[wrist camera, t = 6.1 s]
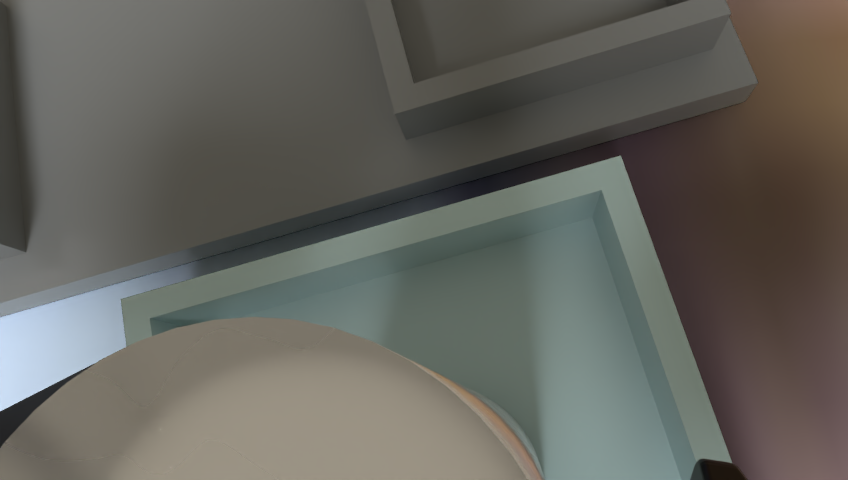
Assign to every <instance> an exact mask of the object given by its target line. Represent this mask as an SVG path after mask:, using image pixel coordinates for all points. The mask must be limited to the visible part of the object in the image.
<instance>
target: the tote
mask: <svg viewBox="0 0 848 480" xmlns="http://www.w3.org/2000/svg"><path fill="white" fill-rule="evenodd" d="M121 305H122V314H123V322H124V330H125V338H126V346H129V345H131V344H133V343H135V342H137V341H140V340H143V339H146V338H148V337H151V336H154V335H157V334H160V333H163V332H165V331H168V330H171V329H174V328H178V327H182V326H187V325H192V324H197V323H201V322H206V321H211V320H218V319H231V318H244V317H265V318H281V319H294V320H299V321H304V322H309V323H314V324H319V325H324V326H329V327H333V328H336V329H339V330H342V331H345V332H348V333H351V334H353V335H356V336H359V337H362V338H365V339H368V340H370V341H373V342H375V343H377V344H379V345H381V346H383V347H385V348H387V349H389V350H391V351H393V352H395V353H397V354H399V355H402V356H404V357H406V358H408V359H410V360H412V361H414V362H416V363H418V364H420V365H422V366H424V367H426V368H428V369H430V370H432V371H434V372H436V373H438V374H440V375H442V376H445V377H447V378H449V379H451V380H453V381H455V382H457V383H459V384H461V385H463V386H465V387H467V388H469V389H471V390H473V391H475V392H477V393H479V394H481V395H483V396H485V397H487V398H489V399H491V400H492V401H494V402H495V403H497V404H498V405H500V406H501V407H502V408H504V409H505V410H506V411H507V412H508V413H509V414H510V415H511V416H512V417H513V418H514V419H515V420H516V421H517V422H518V424H519V425H520V426H521V427H522V429H523V430H524V432H525V433H526V435H527V436H528V438H529V439H530V441H531V443H532V445H533V447H534V449H535V451H536V454H537V457H538V460H539V463H540V466H541V469H542V472H543V476H544V479H545V480H690V478H691V475H692V472H693V469H694V466H695V464H696V462H697V461H698V460H699V459H703V458H705V459H711V460H717V461H724V462H729V463H732V461H731V458H730V455H729V453H728V450H727V447H726V444H725V441H724V439H723V436H722V433H721V430H720V428H719V425H718V422H717V419H716V417H715V414H714V411H713V408H712V406H711V403H710V400H709V397H708V395H707V392H706V389H705V386H704V384H703V381H702V378H701V375H700V373H699V370H698V367H697V364H696V362H695V359H694V356H693V353H692V351H691V348H690V345H689V342H688V339H687V337H686V334H685V331H684V328H683V326H682V323H681V320H680V317H679V315H678V312H677V309H676V306H675V304H674V301H673V298H672V295H671V293H670V290H669V287H668V284H667V282H666V279H665V276H664V273H663V271H662V268H661V265H660V262H659V260H658V257H657V254H656V251H655V249H654V246H653V243H652V240H651V238H650V235H649V232H648V229H647V226H646V224H645V221H644V218H643V215H642V213H641V210H640V207H639V204H638V202H637V199H636V196H635V193H634V191H633V188H632V185H631V182H630V180H629V177H628V174H627V171H626V169H625V166H624V163H623V160H622V158H621V156H617V157H614V158H610V159H607V160H603V161H600V162H596V163H593V164H590V165H586V166H583V167H579V168H576V169H572V170H569V171H565V172H562V173H558V174H555V175H551V176H548V177H544V178H541V179H537V180H534V181H530V182H527V183H523V184H520V185H516V186H513V187H509V188H506V189H503V190H499V191H496V192H492V193H489V194H485V195H482V196H478V197H475V198H471V199H468V200H464V201H461V202H457V203H454V204H450V205H447V206H443V207H440V208H436V209H433V210H429V211H426V212H422V213H419V214H416V215H412V216H409V217H405V218H402V219H398V220H395V221H391V222H388V223H384V224H381V225H377V226H374V227H370V228H367V229H363V230H360V231H356V232H353V233H349V234H346V235H342V236H339V237H335V238H332V239H329V240H325V241H322V242H318V243H315V244H311V245H308V246H304V247H301V248H297V249H294V250H290V251H287V252H283V253H280V254H276V255H273V256H269V257H266V258H262V259H259V260H255V261H252V262H248V263H245V264H242V265H238V266H235V267H231V268H228V269H224V270H221V271H217V272H214V273H210V274H207V275H203V276H200V277H196V278H193V279H189V280H186V281H182V282H179V283H175V284H172V285H168V286H165V287H161V288H158V289H154V290H151V291H148V292H144V293H141V294H137V295H134V296H130V297H127V298H123V299H121Z"/></svg>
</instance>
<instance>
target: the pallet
mask: <svg viewBox="0 0 848 480" xmlns="http://www.w3.org/2000/svg"><path fill="white" fill-rule="evenodd" d="M730 15H731V11H730V9H729V7H728V4H727V2H726V0H0V317H2V316H6V315H9V314H13V313H16V312H20V311H23V310H27V309H30V308H34V307H37V306H40V305H44V304H47V303H51V302H54V301H58V300H61V299H65V298H68V297H72V296H75V295H78V294H82V293H85V292H89V291H92V290H96V289H99V288H103V287H106V286H110V285H113V284H117V283H120V282H123V281H127V280H130V279H134V278H137V277H141V276H144V275H148V274H151V273H155V272H158V271H161V270H165V269H168V268H172V267H175V266H179V265H182V264H186V263H189V262H193V261H196V260H199V259H203V258H206V257H210V256H213V255H217V254H220V253H224V252H227V251H231V250H234V249H237V248H241V247H244V246H248V245H251V244H255V243H258V242H262V241H265V240H269V239H272V238H276V237H279V236H282V235H286V234H289V233H293V232H296V231H300V230H303V229H307V228H310V227H314V226H317V225H320V224H324V223H327V222H331V221H334V220H338V219H341V218H345V217H348V216H352V215H355V214H358V213H362V212H365V211H369V210H372V209H376V208H379V207H383V206H386V205H390V204H393V203H396V202H400V201H403V200H407V199H410V198H414V197H417V196H421V195H424V194H428V193H431V192H434V191H438V190H441V189H445V188H448V187H452V186H455V185H459V184H462V183H466V182H469V181H473V180H476V179H479V178H483V177H486V176H490V175H493V174H497V173H500V172H504V171H507V170H511V169H514V168H517V167H521V166H524V165H528V164H531V163H535V162H538V161H542V160H545V159H549V158H552V157H555V156H559V155H562V154H566V153H569V152H573V151H576V150H580V149H583V148H587V147H590V146H593V145H597V144H600V143H604V142H607V141H611V140H614V139H618V138H621V137H625V136H628V135H631V134H635V133H638V132H642V131H645V130H649V129H652V128H656V127H659V126H663V125H666V124H670V123H673V122H676V121H680V120H683V119H687V118H690V117H694V116H697V115H701V114H704V113H708V112H711V111H714V110H718V109H721V108H725V107H728V106H732V105H735V104H739V103H742V102H745V101H746V100H747V98H748V97H749V95H750V94H751V92H752V91H753V90H754V88H755V87H756V85H757V84H758V81H757V78H756V76H755V74H754V72H753V69H752V67H751V65H750V63H749V60H748V58H747V56H746V53H745V51H744V49H743V47H742V44H741V42H740V40H739V38H738V35H737V33H736V31H735V29H734V26H733V24H732V22H731V20H730Z"/></svg>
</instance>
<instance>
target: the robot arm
mask: <svg viewBox="0 0 848 480" xmlns="http://www.w3.org/2000/svg"><path fill="white" fill-rule="evenodd" d="M93 365H94V364H93ZM91 366H92V365H91ZM91 366H89V367H91ZM89 367H87V368H85V369H83V370H81V371H79V372H77V373H75V374H73V375H71V376H69V377H67V378H65V379H63V380H61V381H59V382H57V383H55V384H53V385H51V386H49V387H48V388H46V389H44V390H42V391H40V392H38V393H36V394H34V395H32V396H30V397H28V398H26V399H24V400H22V401H20V402H18V403H16V404H14V405H12V406H10V407H8V408H6V409H4V410H2V411H0V448H1V446H2V445H3V444H4V442H5V441H6V440H7V439H8V438H9V437H10V436H11V435H12V434H13V433H14V432H15V431H16V429H17V428H18V427H19V426H20V425H21V424H22V423H23V422H24V421H25V420H26V419H27V418H28V417H29V416H30V415H31V413H32V412H33V411H34V410H35V409H36V408H38V407H39V406H40V405H41V404H42V403H44V402H45V401H46V400H47V399H48V398H49V397H51V396H52V395H53V394H54V393H55V392H56V391H58V390H59V389H60V388H61V387H62V386H63V385H65V384H66V383H67V382H68V381H70V380H71V379H73V378H74V377H76V376H77V375H79V374H80V373H82V372H83V371H85V370H86V369H88V368H89ZM690 480H748V479H747V478H746V477H745V475H744V474H743V473H742V472H741V470H740V469H739V468H738V467H737V466H736V465H734V464H732V463H729V462H724V461H717V460H711V459H705V458H703V459H699V460H698V461H697V462H696V464H695V466H694V469H693V472H692V475H691V478H690Z"/></svg>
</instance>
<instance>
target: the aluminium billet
mask: <svg viewBox="0 0 848 480" xmlns="http://www.w3.org/2000/svg"><path fill="white" fill-rule="evenodd" d="M0 480H545V479H544V476H543V472H542V469H541V466H540V463H539V460H538V457H537V454H536V451H535V449H534V447H533V445H532V443H531V441H530V439H529V438H528V436H527V435H526V433H525V432H524V430H523V429H522V427H521V426H520V425H519V424H518V422H517V421H516V420H515V419H514V418H513V417H512V416H511V415H510V414H509V413H508V412H507V411H506V410H505V409H504V408H502V407H501V406H500V405H498V404H497V403H495V402H494V401H492V400H491V399H489V398H487V397H485V396H483V395H481V394H479V393H477V392H475V391H473V390H471V389H469V388H467V387H465V386H463V385H461V384H459V383H457V382H455V381H453V380H451V379H449V378H447V377H445V376H442V375H440V374H438V373H436V372H434V371H432V370H430V369H428V368H426V367H424V366H422V365H420V364H418V363H416V362H414V361H412V360H410V359H408V358H406V357H404V356H402V355H399V354H397V353H395V352H393V351H391V350H389V349H387V348H385V347H383V346H381V345H379V344H377V343H375V342H373V341H370V340H368V339H365V338H362V337H359V336H356V335H353V334H351V333H348V332H345V331H342V330H339V329H336V328H333V327H329V326H324V325H319V324H314V323H309V322H304V321H299V320H294V319H281V318H265V317H244V318H231V319H218V320H211V321H206V322H201V323H197V324H192V325H187V326H182V327H178V328H174V329H171V330H168V331H165V332H163V333H160V334H157V335H154V336H151V337H148V338H146V339H143V340H140V341H137V342H135V343H133V344H131V345H129V346H127V347H125V348H123V349H121V350H119V351H117V352H115V353H113V354H111V355H109V356H107V357H105V358H103V359H102V360H100V361H98V362H97V363H95V364H94V365H92V366H91V367H89V368H88V369H86V370H85V371H83V372H82V373H80V374H79V375H77V376H76V377H74V378H73V379H71V380H70V381H68V382H67V383H66V384H65V385H63V386H62V387H61V388H60V389H59V390H58V391H56V392H55V393H54V394H53V395H52V396H51V397H49V398H48V399H47V400H46V401H45V402H44V403H42V404H41V405H40V406H39V407H38V408H36V409H35V410H34V411H33V412H32V413H31V415H30V416H29V417H28V418H27V419H26V420H25V421H24V422H23V423H22V424H21V425H20V426H19V427H18V428H17V429H16V431H15V432H14V433H13V434H12V435H11V436H10V437H9V438H8V439H7V440H6V441H5V442H4V444H3V445H2V446H1V448H0Z"/></svg>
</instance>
